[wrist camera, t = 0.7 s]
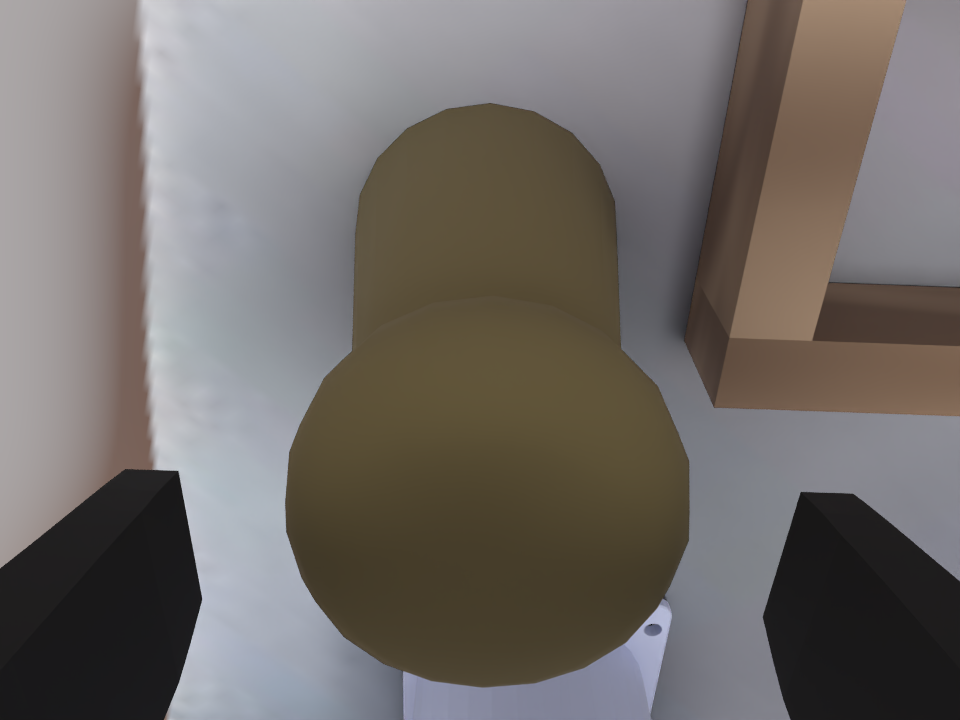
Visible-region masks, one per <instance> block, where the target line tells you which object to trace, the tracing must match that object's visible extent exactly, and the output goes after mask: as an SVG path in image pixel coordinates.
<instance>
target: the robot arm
mask: <svg viewBox="0 0 960 720" xmlns="http://www.w3.org/2000/svg"><path fill="white" fill-rule="evenodd" d="M201 602H202V595H201V590H200V585H199V579H198V574H197V569H196V563H195V558H194V553H193V547H192V542H191V536H190V531H189V526H188V520H187V515H186V510H185V504H184V499H183V494H182V488H181V483H180V477H179V472H178V471H163V470H133V469H125V470H124V471H122V472H121V473H120V474H118V475H117V476H116V477H114V478H113V479H112V480H110V481H109V482H108V483H106V484H105V485H104V486H103V487H101V488H100V489H99V490H98V491H96V492H95V493H94V494H93V495H92V496H90V497H89V498H88V499H86V500H85V501H84V502H83V503H81V504H80V505H79V506H78V507H76V508H75V509H74V510H73V511H72V512H70V513H69V514H68V515H67V516H65V517H64V518H63V519H62V520H61V521H59V522H58V523H57V524H55V525H54V526H53V527H52V528H51V529H49V530H48V531H47V532H46V533H44V534H43V535H42V536H41V537H40V538H38V539H37V540H36V541H34V542H33V543H32V544H31V545H29V546H28V547H27V548H26V549H24V550H23V551H22V552H20V553H19V554H18V555H17V556H15V557H14V558H13V559H12V560H10V561H9V562H8V563H7V564H5V565H4V566H3V567H1V568H0V720H164V718H165V716H166V713H167V711H168V708H169V706H170V703H171V701H172V698H173V696H174V693H175V691H176V688H177V686H178V683H179V680H180V677H181V674H182V670H183V667H184V664H185V660H186V657H187V653H188V650H189V647H190V643H191V639H192V636H193V632H194V628H195V624H196V621H197V617H198V613H199V609H200V606H201ZM671 619H672V612H671V609H670V605H669V603H668V602H667V601H666V600H664V599H662V601H661V603H660V604H659V606H658V608H657V609H656V610H655V612H654V613H653V614H652V615H651V616H650V617H649V618H648V619H647V620H646V621H645V622H644V624H643V625H642V626H641V627H640V628H639V629H638V630H637V631H636V632H635V633H634V635H633V636H632V637H631V638H630V639H629V640H628V641H627V642H626V643H625V644H623V645H622V646H620V647H618V648H617V649H615V650H613V651H612V652H610V653H608V654H607V655H605V656H603V657H602V658H600V659H598V660H597V661H595V662H593V663H592V664H590V665H588V666H587V667H585V668H583V669H580V670H577V671H573V672H570V673H567V674H564V675H561V676H557V677H554V678H551V679H548V680H544V681H541V682H538V683H534V684H522V685H510V686H498V687H486V688H481V687H473V686H465V685H457V684H449V683H441V682H434V681H429V680H427V679H424V678H421V677H418V676H416V675H413V674H410V673H407V672H404V671H403V716H404V720H651V716H650V714H651V709H652V705H653V700H654V696H655V691H656V687H657V682H658V678H659V673H660V669H661V664H662V660H663V655H664V651H665V646H666V642H667V637H668V632H669V628H670V623H671ZM763 620H764V624H765V628H766V632H767V637H768V641H769V645H770V649H771V654H772V658H773V662H774V666H775V670H776V674H777V677H778V681H779V685H780V689H781V692H782V696H783V700H784V703H785V705H786V708H787V711H788V714H789V716H790V719H791V720H960V581H959V580H957V579H956V578H955V577H954V576H953V575H951V574H950V573H949V572H948V571H947V570H946V569H944V568H943V567H942V566H941V565H940V564H938V563H937V562H936V561H935V560H934V559H932V558H931V557H930V556H929V555H928V554H926V553H925V552H924V551H923V550H922V549H921V548H919V547H918V546H917V545H916V544H915V543H913V542H912V541H911V540H910V539H909V538H907V537H906V536H905V535H904V534H903V533H901V532H900V531H899V530H898V529H897V528H895V527H894V526H893V525H892V524H891V523H889V522H888V521H887V520H886V519H885V518H883V517H882V516H881V515H880V514H878V513H877V512H876V511H875V510H873V509H872V508H871V507H870V506H868V505H867V504H866V503H865V502H863V501H862V500H861V499H859V498H858V497H857V496H855V495H854V494H844V493H814V492H801V493H800V497H799V500H798V503H797V506H796V510H795V513H794V516H793V519H792V523H791V526H790V529H789V533H788V536H787V539H786V542H785V546H784V549H783V552H782V556H781V559H780V562H779V565H778V569H777V572H776V575H775V579H774V582H773V585H772V588H771V592H770V595H769V598H768V602H767V605H766V608H765V611H764V615H763ZM649 624H655V625H652V626H648V625H649Z"/></svg>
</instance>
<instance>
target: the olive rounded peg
mask: <svg viewBox="0 0 960 720" xmlns="http://www.w3.org/2000/svg"><path fill="white" fill-rule="evenodd" d="M285 509H286V532H287V535H288V538H289V541H290V544H291V547H292V550H293V553H294V556H295V559H296V562H297V565H298V568H299V571H300V575H301V578H302V579H303V581H304V583H305V585H306V586H307V588H308V590H309V591H310V593H311V595H312V597H313V598H314V600H315V602H316V603H317V604H318V605H319V607H320V608H321V609H322V610H323V612H324V613H325V614H326V615H327V617H328V618H329V619H330V620H331V622H332V623H333V624H334V625H335V627H336V628H337V629H338V630H339V632H340V633H341V634H342V635H343V637H345V638H346V639H348V640H349V641H351V642H352V643H353V644H355V645H356V646H358V647H359V648H361V649H362V650H364V651H365V652H367V653H368V654H370V655H371V656H373V657H374V658H376V659H377V660H379V661H380V662H382V663H383V664H385V665H388V666H391V667H393V668H396V669H399V670H402V671H404V672H407V673H410V674H413V675H416V676H418V677H421V678H424V679H427V680H429V681H434V682H441V683H449V684H457V685H465V686H473V687H481V688H486V687H498V686H510V685H522V684H534V683H538V682H541V681H544V680H548V679H551V678H554V677H557V676H561V675H564V674H567V673H570V672H573V671H577V670H580V669H583V668H585V667H587V666H588V665H590V664H592V663H593V662H595V661H597V660H598V659H600V658H602V657H603V656H605V655H607V654H608V653H610V652H612V651H613V650H615V649H617V648H618V647H620V646H622V645H623V644H625V643H626V642H627V641H628V640H629V639H630V638H631V637H632V636H633V635H634V633H635V632H636V631H637V630H638V629H639V628H640V627H641V626H642V625H643V624H644V622H645V621H646V620H647V619H648V618H649V617H650V616H651V615H652V614H653V613H654V612H655V610H656V609H657V608H658V606H659V604H660V603H661V601H662V599H663V597H664V596H665V594H666V592H667V590H668V588H669V587H670V585H671V582H672V580H673V577H674V575H675V573H676V570H677V568H678V565H679V563H680V560H681V558H682V556H683V553H684V551H685V548H686V546H687V544H688V541H689V460H688V457H687V454H686V452H685V449H684V447H683V444H682V442H681V439H680V437H679V434H678V432H677V429H676V427H675V425H674V423H673V420H672V418H671V416H670V413H669V411H668V409H667V406H666V404H665V402H664V399H663V397H662V395H661V392H660V390H659V388H658V386H657V385H656V384H655V383H654V382H653V381H652V380H651V379H650V378H649V377H648V376H647V375H646V374H645V373H644V372H643V371H642V370H641V369H640V368H639V367H638V366H637V365H636V364H635V363H634V362H633V361H632V360H631V359H630V358H629V357H628V356H627V355H626V354H625V353H624V351H623V350H622V349H621V336H620V310H619V283H618V256H617V233H616V213H615V201H614V198H613V196H612V193H611V191H610V188H609V186H608V184H607V181H606V179H605V176H604V174H603V171H602V169H601V166H600V164H599V163H598V162H597V161H596V160H595V159H594V157H593V156H592V155H591V154H590V153H589V152H588V151H587V149H586V148H585V147H584V146H583V145H582V144H581V143H580V142H579V140H578V139H577V138H576V137H575V136H574V135H573V134H572V133H571V132H569V131H568V130H566V129H564V128H562V127H560V126H559V125H557V124H555V123H553V122H552V121H550V120H548V119H546V118H545V117H543V116H541V115H539V114H537V113H536V112H534V111H528V110H523V109H518V108H513V107H507V106H502V105H497V104H492V103H489V104H481V105H474V106H466V107H459V108H452V109H446V110H444V111H442V112H440V113H438V114H436V115H434V116H432V117H430V118H428V119H426V120H423V121H421V122H419V123H417V124H415V125H413V126H411V127H409V128H407V129H406V130H405V131H404V132H403V133H402V134H401V135H400V136H399V137H398V138H397V139H396V140H395V141H394V142H393V143H392V144H391V145H390V146H389V147H388V148H387V149H386V150H385V151H384V152H383V153H382V154H381V155H380V156H379V157H378V158H377V160H376V162H375V164H374V167H373V169H372V171H371V173H370V175H369V177H368V179H367V181H366V183H365V185H364V187H363V189H362V191H361V193H360V197H359V206H358V215H357V224H356V232H355V264H354V302H353V340H352V352H351V353H350V354H349V355H347V356H346V357H345V358H344V359H343V360H342V361H341V362H340V363H339V364H338V365H337V366H336V367H335V368H334V369H333V370H332V371H331V372H330V373H329V374H328V375H327V376H326V377H325V378H324V379H323V381H322V383H321V385H320V387H319V389H318V391H317V393H316V395H315V397H314V399H313V401H312V402H311V404H310V406H309V408H308V410H307V412H306V414H305V416H304V418H303V420H302V422H301V424H300V426H299V428H298V431H297V433H296V436H295V439H294V441H293V444H292V447H291V449H290V452H289V463H288V475H287V487H286V499H285Z"/></svg>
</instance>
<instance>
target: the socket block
mask: <svg viewBox="0 0 960 720" xmlns="http://www.w3.org/2000/svg"><path fill="white" fill-rule="evenodd" d="M905 3H906V0H748V3H747V8H746V13H745V19H744V24H743V30H742V35H741V40H740V46H739V51H738V56H737V62H736V67H735V72H734V78H733V83H732V88H731V94H730V99H729V104H728V110H727V115H726V120H725V126H724V131H723V136H722V142H721V147H720V152H719V158H718V163H717V168H716V174H715V179H714V184H713V190H712V195H711V200H710V206H709V211H708V216H707V222H706V227H705V232H704V238H703V243H702V249H701V254H700V259H699V265H698V270H697V275H696V281H695V286H694V291H693V297H692V302H691V307H690V313H689V318H688V323H687V329H686V334H685V339H684V342H685V344H686V346H687V348H688V350H689V353H690V355H691V357H692V359H693V362H694V364H695V366H696V368H697V370H698V373H699V375H700V377H701V379H702V382H703V384H704V386H705V388H706V390H707V393H708V395H709V397H710V399H711V402H712V404H713V406H714V408H742V409H771V410H799V411H827V412H856V413H884V414H912V415H941V416H960V288H954V287H928V286H901V285H875V284H848V283H828V281H829V278H830V274H831V270H832V267H833V263H834V260H835V256H836V252H837V249H838V245H839V242H840V238H841V234H842V231H843V227H844V223H845V220H846V216H847V213H848V209H849V205H850V202H851V198H852V195H853V191H854V187H855V184H856V180H857V177H858V173H859V169H860V166H861V162H862V158H863V155H864V151H865V148H866V144H867V140H868V137H869V133H870V130H871V126H872V122H873V119H874V115H875V112H876V108H877V104H878V101H879V97H880V93H881V90H882V86H883V83H884V79H885V75H886V72H887V68H888V65H889V61H890V57H891V54H892V50H893V46H894V43H895V39H896V36H897V32H898V28H899V25H900V21H901V18H902V14H903V10H904V7H905Z"/></svg>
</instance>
